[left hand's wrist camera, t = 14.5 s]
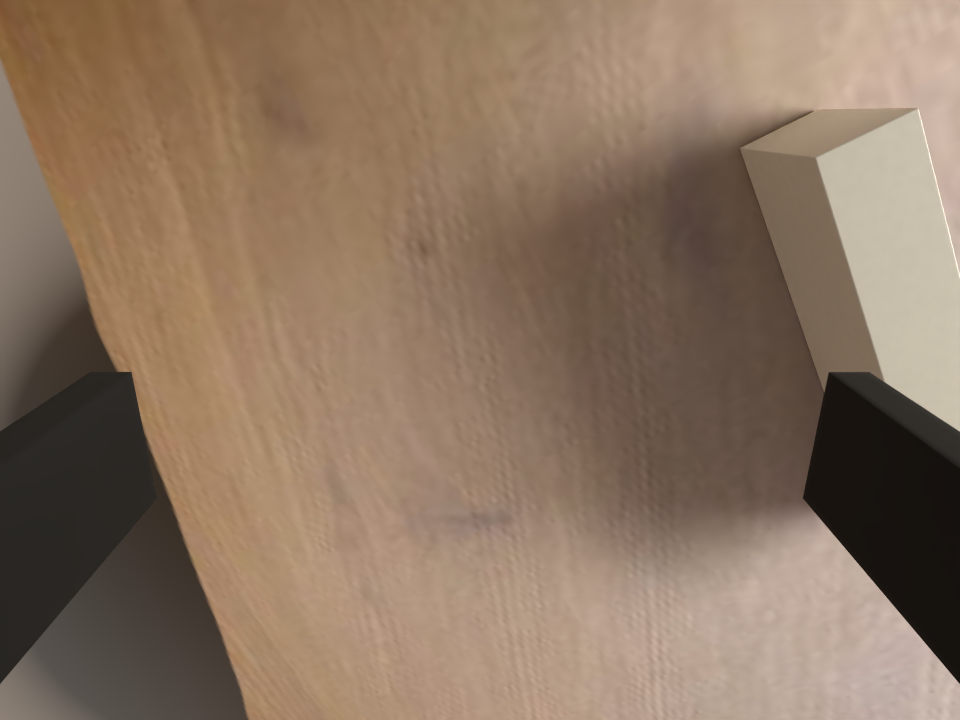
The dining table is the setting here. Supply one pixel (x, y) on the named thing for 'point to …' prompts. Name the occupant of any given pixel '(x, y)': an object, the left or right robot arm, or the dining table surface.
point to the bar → (865, 248)
